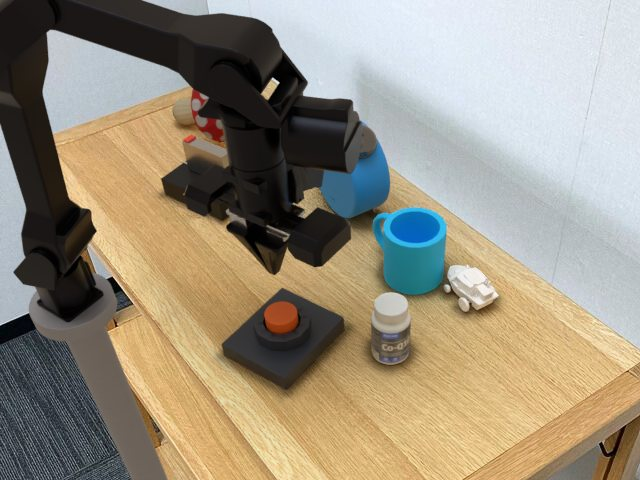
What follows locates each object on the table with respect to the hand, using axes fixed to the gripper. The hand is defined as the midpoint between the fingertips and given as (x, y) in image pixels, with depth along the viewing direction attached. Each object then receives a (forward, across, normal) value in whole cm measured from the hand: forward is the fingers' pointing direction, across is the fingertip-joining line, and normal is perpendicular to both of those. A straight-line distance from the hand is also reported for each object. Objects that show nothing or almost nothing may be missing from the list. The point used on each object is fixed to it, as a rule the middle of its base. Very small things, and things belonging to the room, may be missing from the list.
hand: (274, 272), depth 86 cm
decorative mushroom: (+12, +41, -32) cm, 53 cm away
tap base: (+12, +29, -19) cm, 37 cm away
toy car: (+12, -15, -20) cm, 28 cm away
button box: (+12, 0, 0) cm, 12 cm away
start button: (+8, 0, 0) cm, 8 cm away
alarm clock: (+12, +9, -27) cm, 31 cm away
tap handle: (+9, +29, -19) cm, 36 cm away
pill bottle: (+12, -12, -6) cm, 18 cm away
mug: (+12, -5, -20) cm, 24 cm away
